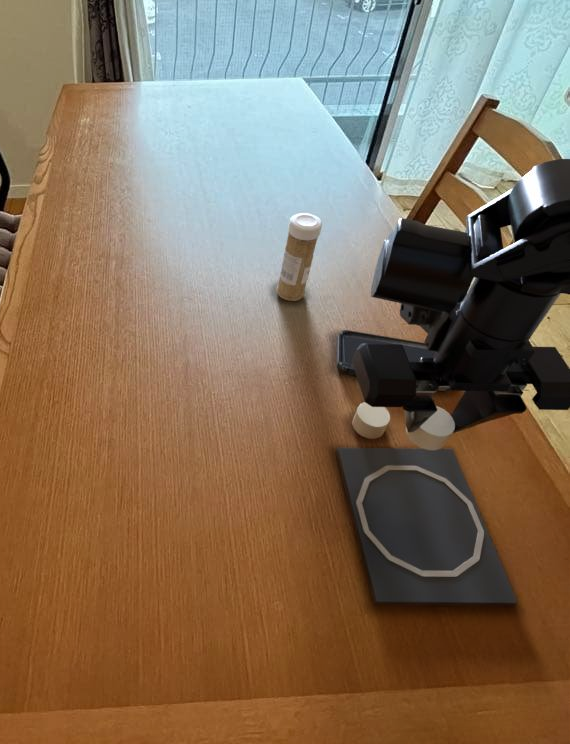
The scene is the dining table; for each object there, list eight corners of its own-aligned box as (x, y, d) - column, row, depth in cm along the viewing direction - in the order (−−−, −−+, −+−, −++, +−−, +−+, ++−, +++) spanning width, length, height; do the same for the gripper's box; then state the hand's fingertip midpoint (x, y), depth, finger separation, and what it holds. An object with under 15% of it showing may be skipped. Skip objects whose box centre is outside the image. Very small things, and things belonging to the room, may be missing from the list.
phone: (339, 328, 81) (446, 346, 79) (337, 334, 82) (443, 352, 80) (338, 367, 76) (453, 387, 73) (336, 372, 76) (450, 393, 74)
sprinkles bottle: (309, 298, 88) (328, 226, 78) (284, 304, 86) (300, 232, 77) (295, 281, 91) (312, 209, 81) (270, 287, 89) (284, 214, 80)
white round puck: (438, 419, 59) (447, 404, 57) (451, 450, 56) (461, 436, 55) (400, 418, 59) (408, 404, 57) (412, 450, 56) (420, 436, 55)
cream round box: (379, 413, 72) (385, 401, 70) (388, 439, 69) (394, 427, 67) (348, 413, 72) (353, 401, 70) (356, 438, 69) (361, 426, 67)
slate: (449, 453, 68) (453, 448, 67) (513, 606, 55) (519, 602, 54) (335, 452, 68) (337, 447, 67) (373, 605, 55) (377, 601, 54)
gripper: (561, 260, 51) (488, 372, 63) (361, 256, 51) (323, 369, 63) (630, 345, 44) (533, 455, 55) (394, 341, 44) (345, 452, 55)
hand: (429, 428), depth 57 cm, fingers closed on white round puck, 4 cm apart
